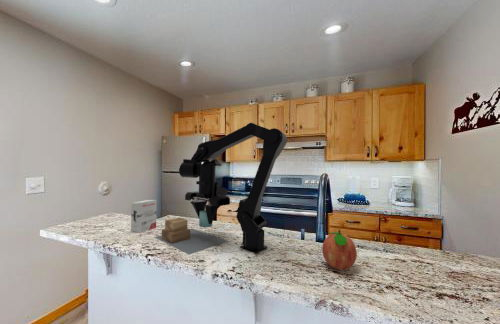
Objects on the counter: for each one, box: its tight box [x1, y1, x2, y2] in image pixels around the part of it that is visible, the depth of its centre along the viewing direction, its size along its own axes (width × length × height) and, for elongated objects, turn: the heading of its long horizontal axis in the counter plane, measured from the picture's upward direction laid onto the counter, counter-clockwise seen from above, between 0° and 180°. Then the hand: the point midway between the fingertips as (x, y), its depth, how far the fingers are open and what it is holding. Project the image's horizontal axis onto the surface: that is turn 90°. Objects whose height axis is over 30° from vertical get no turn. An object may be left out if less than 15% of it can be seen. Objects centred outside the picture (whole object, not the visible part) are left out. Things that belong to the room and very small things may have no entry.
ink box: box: [130, 199, 158, 234], centre depth 87 cm, size 8×5×12 cm, turn 160°
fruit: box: [321, 229, 358, 271], centre depth 59 cm, size 9×10×10 cm
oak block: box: [164, 217, 188, 233], centre depth 77 cm, size 6×6×3 cm
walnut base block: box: [161, 227, 191, 244], centre depth 77 cm, size 7×7×3 cm
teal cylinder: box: [198, 209, 213, 228], centre depth 77 cm, size 5×5×5 cm
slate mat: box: [154, 228, 229, 255], centre depth 77 cm, size 22×16×1 cm
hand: (205, 222), depth 77 cm, fingers closed on teal cylinder, 5 cm apart
